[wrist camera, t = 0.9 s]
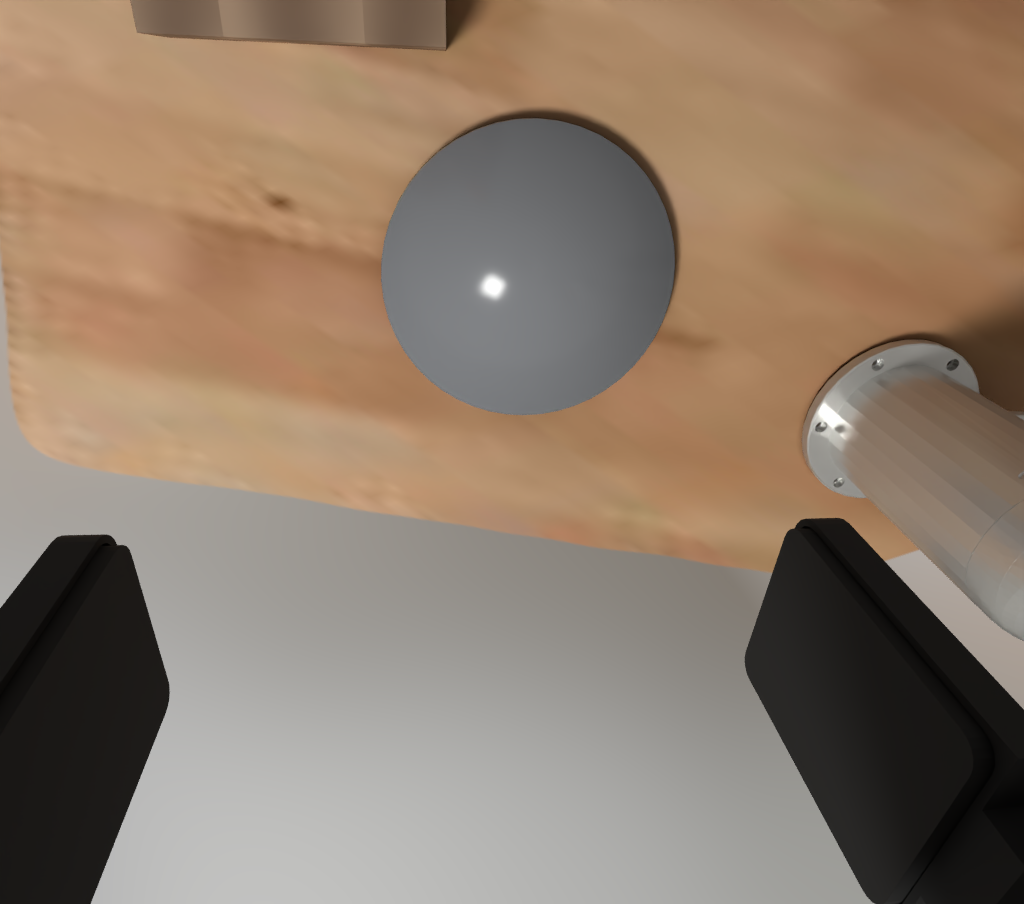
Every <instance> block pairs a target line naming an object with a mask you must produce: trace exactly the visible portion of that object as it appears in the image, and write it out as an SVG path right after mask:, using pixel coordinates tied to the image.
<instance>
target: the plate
mask: <svg viewBox="0 0 1024 904" xmlns="http://www.w3.org/2000/svg"><path fill="white" fill-rule="evenodd" d="M674 270H675V255H674V243H673V237H672V230H671V226H670V223H669V219H668V216H667V213H666V210H665V207H664V205H663V203H662V201H661V199H660V197H659V194H658V192H657V190H656V189H655V187H654V186H653V184H652V183H651V181H650V180H649V178H648V177H647V175H646V174H645V173H644V171H643V170H642V169H641V168H640V167H639V166H638V165H637V163H636V162H635V161H634V160H633V159H632V158H631V157H630V156H629V155H627V154H626V153H625V152H624V151H623V150H621V149H620V148H619V147H618V146H617V145H615V144H613V143H612V142H610V141H609V140H607V139H605V138H604V137H602V136H601V135H599V134H597V133H594V132H592V131H590V130H587V129H585V128H583V127H580V126H578V125H574V124H570V123H566V122H563V121H559V120H552V119H543V118H516V119H510V120H505V121H499V122H494V123H491V124H489V125H486V126H483V127H480V128H477V129H474V130H472V131H470V132H468V133H466V134H464V135H462V136H460V137H458V138H456V139H455V140H453V141H452V142H451V143H449V144H448V145H446V146H445V147H444V148H442V149H441V150H439V151H438V152H437V153H436V154H435V155H434V156H433V157H432V158H431V159H429V160H428V161H427V162H426V163H425V164H424V165H423V166H422V167H421V169H420V170H419V171H418V172H417V174H416V175H415V176H414V177H413V179H412V180H411V181H410V182H409V184H408V186H407V187H406V189H405V191H404V192H403V194H402V196H401V197H400V199H399V201H398V203H397V206H396V208H395V210H394V213H393V215H392V217H391V220H390V223H389V226H388V230H387V234H386V237H385V241H384V247H383V254H382V263H381V282H382V290H383V298H384V303H385V307H386V311H387V314H388V318H389V321H390V323H391V326H392V328H393V331H394V333H395V335H396V337H397V339H398V341H399V343H400V344H401V346H402V348H403V350H404V351H405V353H406V354H407V356H408V357H409V358H410V360H411V361H412V362H413V363H414V365H415V366H416V367H417V368H418V369H419V370H420V371H421V372H422V373H423V374H424V375H425V376H426V377H427V378H428V379H429V380H430V381H431V382H432V383H434V384H435V385H436V386H438V387H439V388H440V389H441V390H443V391H444V392H446V393H448V394H449V395H451V396H453V397H454V398H456V399H458V400H460V401H462V402H465V403H467V404H469V405H471V406H474V407H477V408H481V409H484V410H487V411H491V412H497V413H503V414H513V415H532V414H543V413H549V412H554V411H559V410H562V409H565V408H569V407H572V406H575V405H577V404H579V403H582V402H584V401H586V400H589V399H591V398H592V397H594V396H596V395H598V394H599V393H601V392H603V391H604V390H606V389H607V388H609V387H610V386H611V385H613V384H614V383H615V382H617V381H618V380H619V379H620V378H622V377H623V376H624V375H625V374H626V373H627V372H628V371H629V370H630V369H631V368H632V367H633V366H634V365H635V364H636V362H637V361H638V360H639V359H640V358H641V356H642V355H643V354H644V353H645V351H646V350H647V348H648V347H649V345H650V344H651V342H652V341H653V339H654V338H655V336H656V334H657V332H658V330H659V328H660V326H661V323H662V321H663V319H664V316H665V313H666V310H667V308H668V305H669V301H670V297H671V292H672V288H673V280H674Z"/></svg>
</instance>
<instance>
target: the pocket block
mask: <svg viewBox="0 0 1024 904" xmlns="http://www.w3.org/2000/svg"><path fill="white" fill-rule="evenodd" d="M130 1H131V6H132V11H133V16H134V21H135V26H136V30H137V33H143V34H149V35H156V36H163V37H169V38H191V39H212V40H233V41H254V42H275V43H296V44H318V45H339V46H360V47H381V48H402V49H423V50H445V51H446V0H130Z"/></svg>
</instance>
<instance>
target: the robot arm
mask: <svg viewBox="0 0 1024 904" xmlns="http://www.w3.org/2000/svg"><path fill="white" fill-rule="evenodd" d="M979 393H980V392H979V386H978V380H977V377H976V375H975V373H974V371H973V368H972V367H971V365H970V364H969V363H968V362H967V361H966V360H965V358H964V357H962V356H961V355H959V354H958V353H956V352H955V351H953V350H952V349H950V348H948V347H946V346H943V345H941V344H939V343H936V342H932V341H927V340H901V341H896V342H890V343H887V344H884V345H881V346H879V347H876V348H873V349H871V350H869V351H867V352H865V353H863V354H861V355H860V356H858V357H856V358H854V359H853V360H852V361H850V362H849V363H848V364H846V365H845V366H844V367H842V368H841V369H840V370H839V371H838V372H837V373H836V374H835V375H834V376H833V377H831V378H830V379H829V380H828V381H827V383H826V384H825V385H824V387H823V388H822V389H821V391H820V392H819V393H818V394H817V396H816V398H815V399H814V401H813V403H812V405H811V407H810V409H809V411H808V414H807V417H806V420H805V422H804V426H803V433H802V449H803V455H804V457H805V460H806V463H807V465H808V467H809V468H810V470H811V471H812V473H813V474H814V475H815V476H816V477H817V478H818V479H819V480H820V482H821V483H822V484H823V485H825V486H826V487H827V488H829V489H830V490H832V491H834V492H837V493H839V494H842V495H844V496H849V497H856V498H868V499H869V500H870V501H871V502H872V503H873V504H874V505H875V506H876V507H877V508H878V509H879V510H880V511H881V512H882V513H883V514H884V515H885V516H886V517H887V518H888V519H889V520H890V521H891V522H892V523H893V524H894V525H895V526H896V527H897V528H898V529H899V530H900V531H901V532H902V533H903V534H904V535H905V536H906V537H907V538H908V539H909V540H910V541H911V542H912V543H913V544H915V545H916V546H917V547H918V548H919V549H920V550H921V551H922V552H923V553H924V554H925V555H926V556H927V557H928V558H929V559H930V560H931V561H932V562H933V563H934V564H935V565H936V566H937V567H938V568H939V569H940V570H941V571H942V572H943V573H944V574H945V575H946V576H947V577H948V578H949V579H950V580H951V581H952V582H953V583H954V584H955V585H956V586H957V587H958V588H959V589H960V590H961V591H962V592H963V593H964V594H965V595H966V596H967V597H968V598H969V599H970V600H971V601H972V602H973V603H974V604H975V605H976V606H978V607H979V608H980V609H981V610H982V611H983V612H984V613H985V614H986V615H987V616H988V617H989V618H990V619H991V620H992V621H993V622H994V623H996V624H997V625H998V626H999V627H1001V628H1002V629H1003V630H1005V631H1007V632H1008V633H1010V634H1011V635H1013V636H1014V637H1016V638H1018V639H1020V640H1022V641H1024V412H1022V411H1007V410H1006V409H1004V408H1002V407H1001V406H999V405H997V404H995V403H994V402H992V401H990V400H989V399H987V398H985V397H984V396H982V395H980V394H979ZM745 667H746V671H747V675H748V677H749V679H750V681H751V683H752V685H753V687H754V689H755V690H756V692H757V694H758V696H759V698H760V700H761V701H762V703H763V705H764V707H765V709H766V711H767V713H768V715H769V716H770V718H771V720H772V722H773V724H774V726H775V727H776V730H777V731H778V733H779V735H780V737H781V739H782V741H783V743H784V744H785V746H786V748H787V750H788V752H789V754H790V756H791V758H792V759H793V761H794V763H795V765H796V767H797V769H798V770H799V772H800V774H801V776H802V778H803V780H804V782H805V784H806V785H807V787H808V789H809V791H810V793H811V795H812V797H813V798H814V800H815V802H816V804H817V806H818V808H819V810H820V811H821V813H822V815H823V817H824V819H825V821H826V822H827V825H828V826H829V828H830V830H831V832H832V834H833V836H834V838H835V839H836V841H837V843H838V845H839V847H840V849H841V851H842V852H843V854H844V856H845V858H846V860H847V862H848V864H849V866H850V867H851V869H852V871H853V873H854V875H855V877H856V878H857V880H858V882H859V884H860V886H861V888H862V889H863V891H864V892H865V894H866V896H867V897H868V898H869V899H870V900H871V901H872V902H873V903H875V904H1024V710H1023V708H1022V707H1021V706H1020V705H1019V704H1018V703H1017V702H1016V701H1015V700H1014V699H1013V698H1012V697H1011V696H1010V695H1009V693H1008V692H1007V691H1006V690H1005V689H1004V688H1003V687H1002V686H1001V685H1000V684H999V683H998V682H997V681H996V680H995V679H994V677H993V676H992V675H991V674H990V673H989V672H988V671H987V670H986V669H985V668H984V667H983V666H982V665H981V664H980V663H979V661H977V659H976V658H975V657H974V656H973V655H972V654H971V653H970V652H969V651H968V650H967V649H966V648H965V647H964V646H963V644H962V643H961V642H960V641H959V640H958V639H957V638H956V637H955V636H954V635H953V634H952V633H951V632H950V631H949V630H948V629H947V627H946V626H945V625H944V624H943V623H942V622H941V621H940V620H939V619H938V618H937V617H936V616H935V615H934V614H933V612H932V611H931V610H930V609H929V608H928V607H927V606H926V605H925V604H924V603H923V602H922V601H921V600H920V599H919V598H918V597H917V595H915V593H914V592H913V591H912V590H911V589H910V588H909V587H908V586H907V585H906V584H905V583H904V582H903V581H902V580H901V578H900V577H899V576H898V575H897V574H896V573H895V572H894V571H893V570H892V569H891V568H890V567H889V566H888V565H887V563H886V562H885V561H884V560H883V559H882V558H881V557H880V556H879V555H878V554H877V553H876V552H875V551H874V550H873V548H872V547H871V546H870V545H869V544H868V543H867V542H866V541H865V540H864V539H863V538H862V537H861V536H860V535H859V534H858V532H857V531H856V530H855V529H854V528H853V527H852V526H851V525H850V524H849V523H848V522H846V521H845V520H844V519H840V518H819V519H803V520H801V521H800V522H799V523H797V525H796V527H795V529H790V530H789V531H788V532H787V534H786V536H785V538H784V541H783V544H782V547H781V550H780V553H779V556H778V559H777V562H776V564H775V567H774V570H773V573H772V576H771V579H770V582H769V585H768V588H767V591H766V594H765V597H764V600H763V603H762V606H761V609H760V612H759V615H758V618H757V621H756V624H755V626H754V630H753V632H752V636H751V638H750V641H749V644H748V647H747V650H746V654H745ZM168 702H169V682H168V678H167V675H166V671H165V668H164V665H163V661H162V658H161V654H160V651H159V648H158V644H157V641H156V638H155V634H154V631H153V627H152V624H151V620H150V617H149V613H148V610H147V607H146V603H145V600H144V596H143V593H142V590H141V586H140V583H139V579H138V576H137V572H136V569H135V565H134V562H133V559H132V555H131V553H130V550H129V549H128V547H127V546H124V545H117V544H116V542H115V540H114V539H113V538H112V537H111V536H109V535H68V536H60V537H57V538H56V539H55V540H54V541H52V543H51V544H50V545H49V546H48V548H47V549H46V550H45V551H44V553H43V554H42V555H41V557H40V558H39V559H38V560H37V562H36V563H35V564H34V566H33V567H32V568H31V570H30V571H29V572H28V573H27V575H26V576H25V577H24V578H23V580H22V581H21V582H20V584H19V585H18V586H17V588H16V589H15V590H14V591H13V593H12V594H11V595H10V597H9V598H8V599H7V600H6V602H5V603H4V604H3V606H2V607H1V608H0V904H91V901H92V898H93V896H94V893H95V891H96V888H97V886H98V883H99V881H100V878H101V876H102V873H103V870H104V868H105V866H106V863H107V860H108V858H109V855H110V853H111V850H112V848H113V845H114V843H115V840H116V838H117V835H118V832H119V830H120V827H121V825H122V822H123V820H124V817H125V815H126V812H127V809H128V807H129V805H130V802H131V799H132V797H133V794H134V792H135V789H136V787H137V784H138V782H139V779H140V776H141V774H142V772H143V769H144V766H145V764H146V761H147V759H148V756H149V754H150V751H151V749H152V746H153V743H154V741H155V738H156V736H157V733H158V731H159V728H160V726H161V723H162V721H163V718H164V716H165V713H166V710H167V707H168Z"/></svg>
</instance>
